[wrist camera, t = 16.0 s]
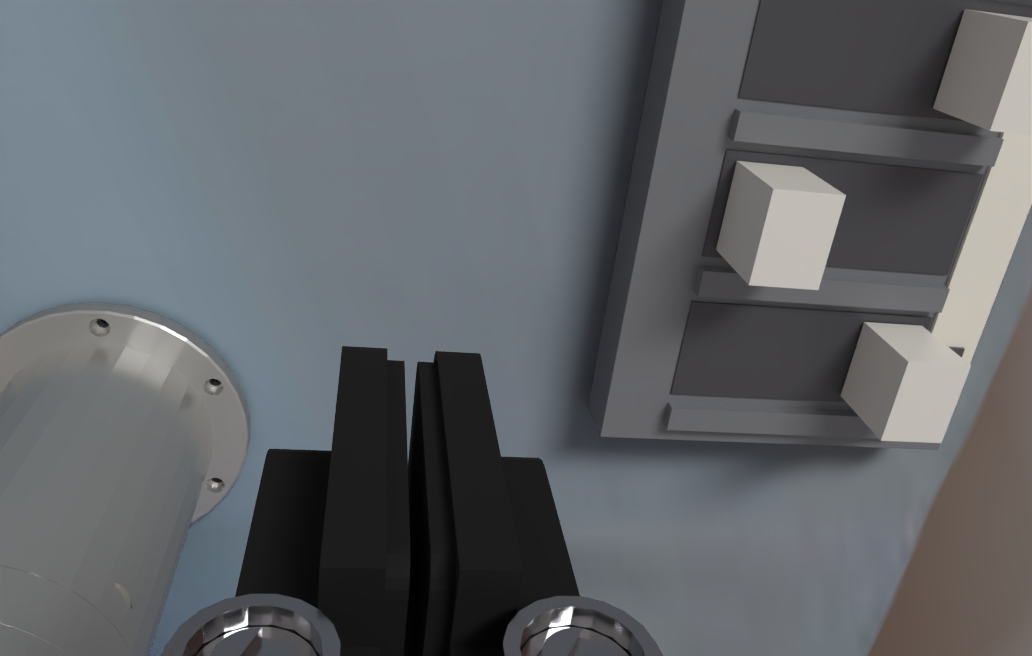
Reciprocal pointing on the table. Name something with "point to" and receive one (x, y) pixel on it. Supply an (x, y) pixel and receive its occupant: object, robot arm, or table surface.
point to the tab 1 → (904, 382)
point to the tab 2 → (990, 73)
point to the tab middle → (779, 225)
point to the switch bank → (859, 234)
